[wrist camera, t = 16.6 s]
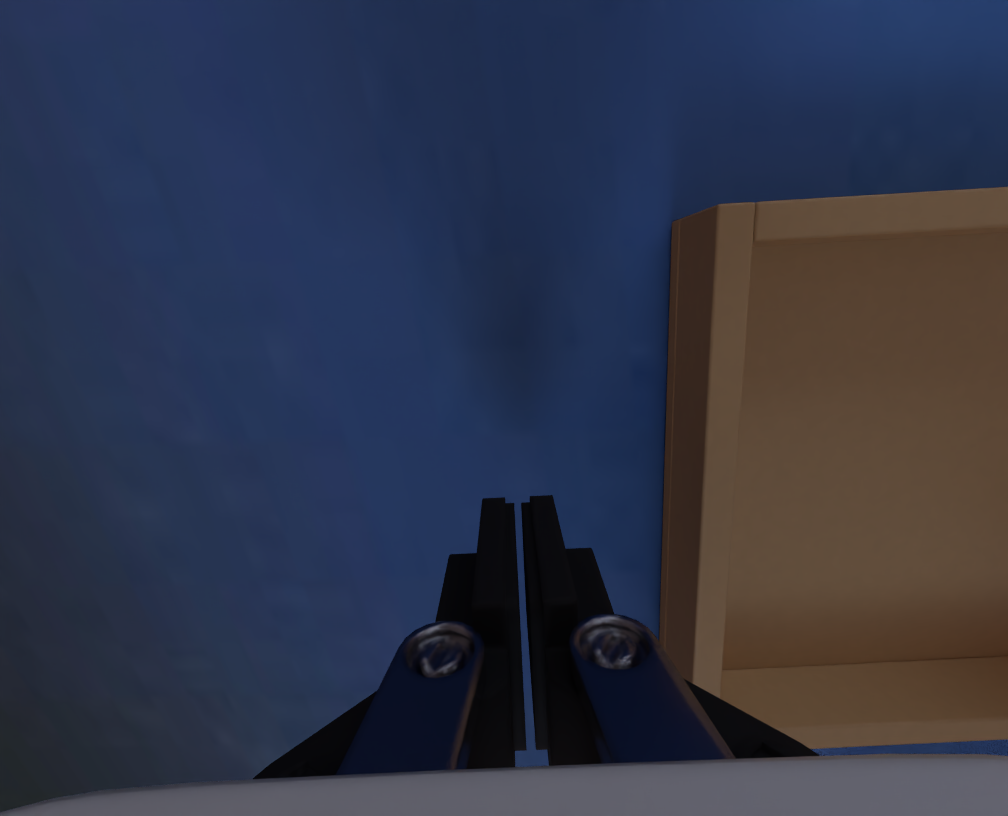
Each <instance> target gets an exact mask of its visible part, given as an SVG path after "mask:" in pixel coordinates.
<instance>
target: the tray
mask: <svg viewBox="0 0 1008 816" xmlns="http://www.w3.org/2000/svg"><path fill="white" fill-rule="evenodd" d="M659 642H660V644H661V645H662V647H663V648H664V650H665V651H666V653H667V655H668V656H669V658H670V659H671V661H672V662H673V664H674V665H675V667H676V668H677V670H678V671H679V673H680V674H681V676H682V677H683V678H684V679H685V680H687V681H689V682H691V683H693V684H695V685H696V686H698V687H700V688H702V689H704V690H705V691H707V692H709V693H711V694H713V695H715V696H716V697H718V698H720V699H722V700H724V701H726V702H727V703H729V704H731V705H733V706H735V707H736V708H738V709H740V710H742V711H744V712H746V713H747V714H749V715H751V716H753V717H755V718H757V719H758V720H760V721H762V722H764V723H766V724H767V725H769V726H771V727H773V728H775V729H777V730H778V731H780V732H782V733H784V734H786V735H788V736H789V737H791V738H793V739H795V740H797V741H798V742H800V743H802V744H803V745H805V746H806V747H808V748H809V749H817V748H838V747H858V746H879V745H899V744H920V743H940V742H961V741H981V740H1002V739H1008V187H997V188H980V189H963V190H946V191H929V192H913V193H896V194H879V195H862V196H845V197H829V198H812V199H795V200H778V201H761V202H756V203H753V202H744V203H727V204H719V205H716V206H713V207H711V208H708V209H705V210H703V211H700V212H697V213H695V214H692V215H689V216H687V217H684V218H681V219H679V220H676V221H674V222H673V223H672V241H671V274H670V307H669V339H668V372H667V404H666V437H665V469H664V502H663V534H662V567H661V599H660V632H659Z"/></svg>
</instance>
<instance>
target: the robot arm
mask: <svg viewBox="0 0 1008 816" xmlns="http://www.w3.org/2000/svg"><path fill="white" fill-rule="evenodd" d="M521 508H522V529H523V551H524V572H525V594H526V613H527V628H528V642H529V656H530V671H531V685H532V699H533V713H534V728H535V742H536V750H544V749H548V759H549V766H532V767H515V751H520V750H526V733H525V712H524V692H523V672H522V651H521V631H520V610H519V590H518V571H517V551H516V531H515V512H514V503H506V504H505V498H484V499H482V508H481V517H480V527H479V537H478V546H477V553H469V554H451V555H450V556H449V559H448V564H447V568H446V573H445V578H444V583H443V588H442V593H441V598H440V602H439V607H438V612H437V617H436V622H435V623H431V624H427V625H425V626H423V627H421V628H419V629H417V630H415V631H414V632H412V633H411V634H410V635H409V636H407V637H406V638H405V639H404V641H403V642H402V644H401V645H400V646H399V648H398V650H397V652H396V654H395V656H394V658H393V660H392V662H391V664H390V666H389V668H388V670H387V672H386V674H385V676H384V678H383V680H382V682H381V684H380V686H379V688H378V690H377V691H376V692H374V693H373V694H372V695H370V696H369V697H367V698H366V699H364V700H363V701H361V702H360V703H358V704H357V705H356V706H354V707H353V708H351V709H350V710H348V711H347V712H345V713H344V714H342V715H341V716H340V717H338V718H337V719H335V720H334V721H332V722H331V723H329V724H328V725H326V726H325V727H324V728H322V729H321V730H319V731H318V732H316V733H315V734H313V735H312V736H310V737H309V738H308V739H306V740H305V741H303V742H302V743H300V744H299V745H297V746H296V747H294V748H293V749H292V750H290V751H289V752H287V753H286V754H284V755H283V756H281V757H280V758H278V759H277V760H276V761H274V762H273V763H271V764H270V765H269V766H267V767H266V768H265V769H264V770H263V771H261V772H260V773H259V774H258V775H257V776H255V777H254V778H253V779H250V780H229V781H209V782H192V783H180V784H169V785H157V786H146V787H134V788H122V789H111V790H101V791H95V792H89V793H83V794H77V795H71V796H65V797H59V798H54V799H50V800H46V801H42V802H38V803H34V804H30V805H27V806H23V807H19V808H15V809H11V810H7V811H3V812H0V816H1008V756H999V755H987V754H872V755H840V756H819V755H818V754H817V753H815V752H814V751H812V750H811V749H809V748H808V747H806V746H805V745H803V744H802V743H800V742H798V741H797V740H795V739H793V738H791V737H789V736H788V735H786V734H784V733H782V732H780V731H778V730H777V729H775V728H773V727H771V726H769V725H767V724H766V723H764V722H762V721H760V720H758V719H757V718H755V717H753V716H751V715H749V714H747V713H746V712H744V711H742V710H740V709H738V708H736V707H735V706H733V705H731V704H729V703H727V702H726V701H724V700H722V699H720V698H718V697H716V696H715V695H713V694H711V693H709V692H707V691H705V690H704V689H702V688H700V687H698V686H696V685H695V684H693V683H691V682H689V681H687V680H685V679H684V678H683V677H682V676H681V674H680V673H679V671H678V670H677V668H676V667H675V665H674V664H673V662H672V661H671V659H670V658H669V656H668V655H667V653H666V651H665V650H664V648H663V647H662V645H661V644H660V642H659V641H658V639H657V638H656V636H655V635H654V634H653V633H652V632H651V631H650V630H649V628H648V627H646V626H645V625H643V624H642V623H640V622H638V621H637V620H634V619H632V618H629V617H626V616H623V615H617V614H614V612H613V609H612V606H611V603H610V600H609V597H608V594H607V591H606V588H605V585H604V583H603V580H602V577H601V574H600V571H599V568H598V565H597V562H596V559H595V556H594V553H593V551H592V549H591V548H576V549H565V546H564V542H563V537H562V533H561V529H560V525H559V521H558V516H557V512H556V508H555V504H554V499H553V496H552V495H547V496H530V502H527V503H521Z"/></svg>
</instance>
